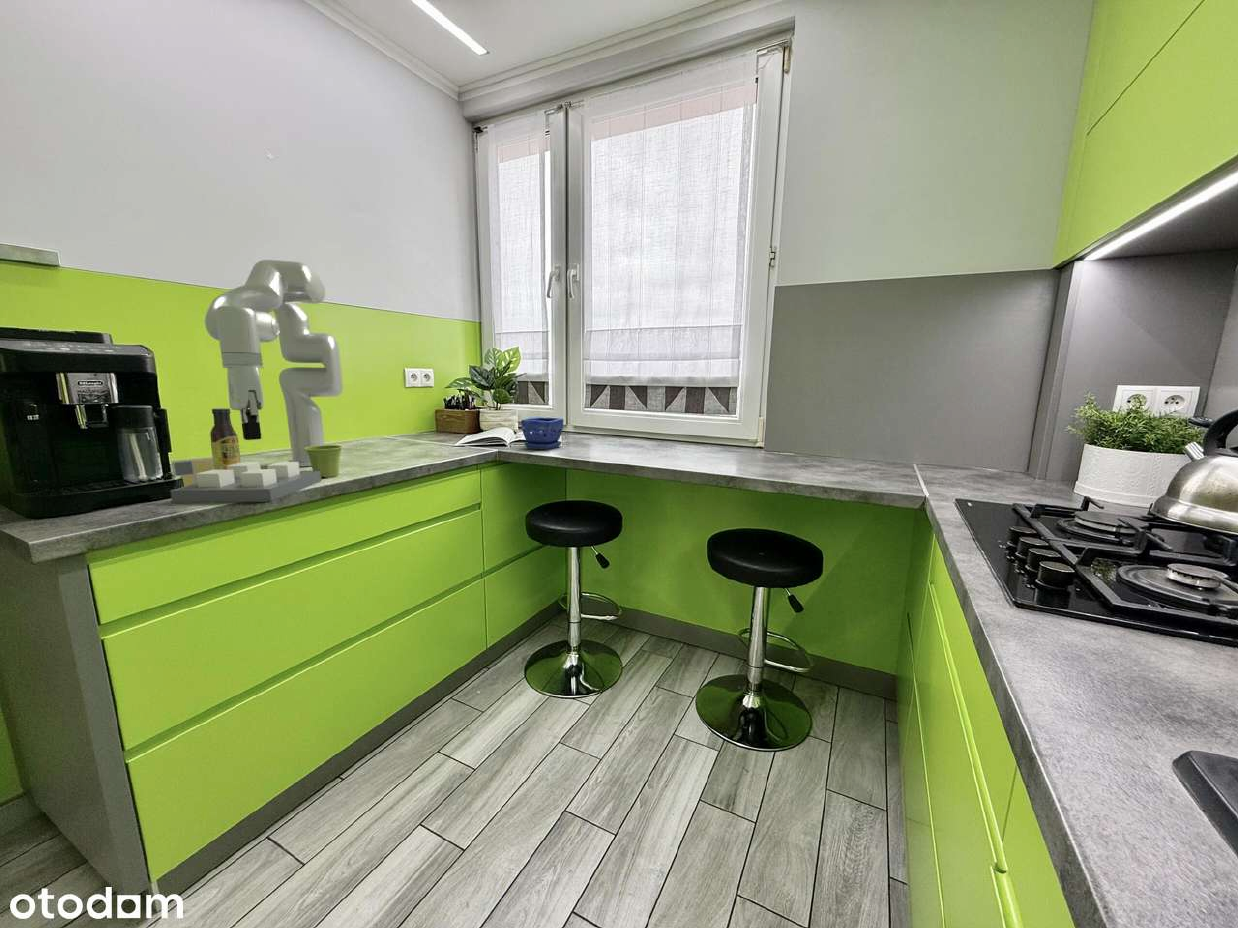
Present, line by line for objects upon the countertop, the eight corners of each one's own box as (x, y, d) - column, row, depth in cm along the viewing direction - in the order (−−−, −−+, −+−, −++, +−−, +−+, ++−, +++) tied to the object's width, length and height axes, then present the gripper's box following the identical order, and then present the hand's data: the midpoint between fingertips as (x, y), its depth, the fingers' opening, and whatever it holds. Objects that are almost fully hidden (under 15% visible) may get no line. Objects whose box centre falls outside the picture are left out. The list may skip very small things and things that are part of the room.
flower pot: (565, 446, 201) (564, 417, 199) (549, 451, 189) (548, 420, 186) (537, 444, 206) (536, 416, 203) (520, 449, 193) (519, 419, 191)
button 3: (256, 484, 121) (254, 469, 120) (277, 484, 121) (275, 469, 121) (242, 489, 116) (240, 473, 115) (264, 489, 116) (262, 473, 116)
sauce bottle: (227, 479, 137) (216, 409, 134) (209, 478, 138) (198, 409, 135) (248, 474, 144) (239, 407, 140) (231, 473, 145) (221, 407, 141)
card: (176, 491, 123) (171, 460, 122) (216, 486, 128) (212, 457, 127) (176, 492, 123) (171, 461, 121) (217, 487, 128) (212, 457, 126)
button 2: (242, 477, 130) (240, 462, 129) (261, 476, 130) (259, 462, 130) (228, 481, 125) (226, 465, 125) (249, 480, 126) (246, 465, 125)
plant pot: (332, 471, 148) (329, 444, 147) (352, 474, 144) (349, 446, 142) (300, 477, 140) (297, 448, 138) (321, 480, 136) (317, 450, 134)
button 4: (281, 476, 131) (279, 462, 130) (300, 476, 131) (298, 461, 130) (269, 480, 126) (267, 465, 125) (289, 480, 126) (287, 465, 126)
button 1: (214, 485, 120) (211, 469, 120) (235, 485, 121) (233, 469, 120) (198, 490, 115) (196, 473, 115) (220, 489, 116) (218, 473, 115)
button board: (238, 482, 134) (237, 471, 133) (321, 481, 135) (320, 470, 135) (172, 503, 112) (170, 490, 112) (271, 501, 114) (269, 489, 113)
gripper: (215, 362, 115) (226, 438, 118) (229, 360, 105) (241, 443, 108) (253, 363, 121) (262, 436, 124) (270, 361, 111) (280, 440, 114)
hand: (252, 439), depth 116 cm, fingers closed
